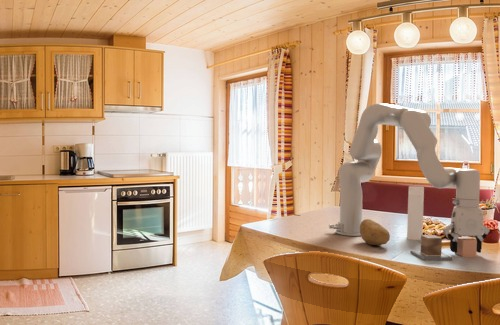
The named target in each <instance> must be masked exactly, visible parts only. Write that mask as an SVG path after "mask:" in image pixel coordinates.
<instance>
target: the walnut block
mask: <svg viewBox="0 0 500 325" xmlns="http://www.w3.org/2000/svg"><path fill="white" fill-rule="evenodd" d="M442 241H443V240H442V237H440V236H438V235H435V234H423V235H421V241H420V250H421V252H422V253H424V254H426V255H441V252H442V246H443V245H442V244H443V242H442Z"/></svg>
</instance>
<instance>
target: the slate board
mask: <svg viewBox="0 0 500 325" xmlns="http://www.w3.org/2000/svg"><path fill="white" fill-rule="evenodd" d="M411 253H412V254H411ZM410 254H411V255H413V256H415V257H417V258H418V259H420V260H422V261H453V257H452V256H450V255H449V254H446V253H444V252H442V251H441V255H426V254H424V253H422V252H421V249H419V250H417V249H416V250H412V249H411V250H410Z"/></svg>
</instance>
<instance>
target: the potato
mask: <svg viewBox="0 0 500 325" xmlns="http://www.w3.org/2000/svg"><path fill="white" fill-rule="evenodd" d="M360 234H361V236H360V237H361V239H362V240H363V242H365V243H366V244H368V245H369V246H382V245H386V244H387V243H388V242H389V241H390V237H391V235H390V232H389V231H388V230H387V228H385V227H383V226H382V225H381V224H380V223H378V222H376V221H374V220H372V219H368V218H367V219H362V222H361V225H360Z"/></svg>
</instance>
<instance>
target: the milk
mask: <svg viewBox="0 0 500 325" xmlns="http://www.w3.org/2000/svg"><path fill="white" fill-rule="evenodd" d="M424 192H425V187H424V186H418V185H417V186H415V185H414V186H413V185H409V186H408V195H407V196H408V197H407V227H406V228H407V229H406V230H407V231H406V240H409V241H420V242H421V235H424V234H423V233H424V232H423V230H424V229H423V228H424V202H425V200H424V199H425V193H424Z"/></svg>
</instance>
